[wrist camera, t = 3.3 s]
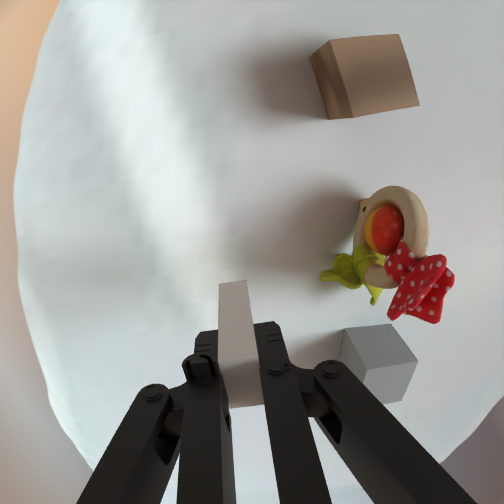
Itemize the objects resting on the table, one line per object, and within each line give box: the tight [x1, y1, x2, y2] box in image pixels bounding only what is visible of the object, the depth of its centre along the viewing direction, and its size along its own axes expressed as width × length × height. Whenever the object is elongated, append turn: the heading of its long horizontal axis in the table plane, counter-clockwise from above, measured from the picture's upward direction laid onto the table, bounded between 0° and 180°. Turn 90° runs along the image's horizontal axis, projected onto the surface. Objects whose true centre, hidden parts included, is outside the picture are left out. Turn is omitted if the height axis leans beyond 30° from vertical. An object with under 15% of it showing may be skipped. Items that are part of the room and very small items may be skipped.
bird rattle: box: [319, 186, 454, 324], centre depth 20 cm, size 6×11×9 cm
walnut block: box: [309, 34, 420, 120], centre depth 18 cm, size 5×5×5 cm
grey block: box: [338, 324, 418, 404], centre depth 26 cm, size 5×5×6 cm
